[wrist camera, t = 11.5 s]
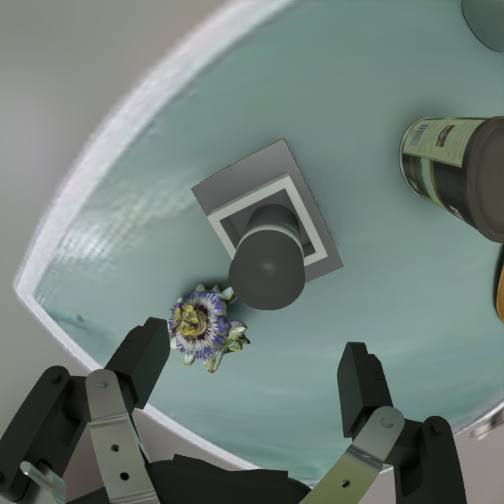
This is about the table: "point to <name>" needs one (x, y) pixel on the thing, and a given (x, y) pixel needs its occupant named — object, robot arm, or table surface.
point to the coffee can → (459, 168)
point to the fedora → (500, 295)
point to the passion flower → (205, 326)
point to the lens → (269, 260)
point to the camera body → (263, 193)
